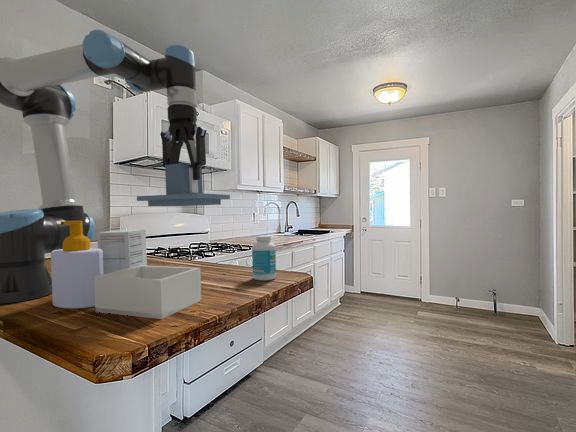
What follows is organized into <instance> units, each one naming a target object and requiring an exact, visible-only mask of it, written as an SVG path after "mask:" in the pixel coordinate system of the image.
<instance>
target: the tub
mask: <svg viewBox="0 0 576 432" xmlns="http://www.w3.org/2000/svg"><path fill="white" fill-rule="evenodd" d="M201 275H202V274H201V267H192V266H191V267H188V266H167V265H166V266H164V265H163V266H162V265H147V266H146V265H141V266H136V267H132V268H128V269H124V270H120V271H115V272H111V273H107V274H103V275H98V276H94V284H95V306H94V307H95V308H94V309H95V313H99V312H100V314H108V313H111V314H110V315H117V314H118V316H127V315H128V316H127V317H129V316H131V317H137V318H145V319H146V318H147V319H157V320H158V319H159V320H164V319H166V318H168V317H169V316H172V315H174V314H175V313H178V312H179V311H182V310H184V309H186V308H188V307H190V306H192V305H195V304H196V303H199V302H200V301H202V282H201V280H202V279H201Z"/></svg>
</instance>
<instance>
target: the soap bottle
mask: <svg viewBox="0 0 576 432" xmlns="http://www.w3.org/2000/svg"><path fill="white" fill-rule="evenodd" d="M61 225H70V236H68V237H67V238H65V239H64V241H63V249H59V250H54V251H52V252H51V253H50V269H51V279H52V293H51V294H52V306H54V307H56V308H61V309H72V310H73V309H74V310H75V309H86V308H93V307H95V284H94V276H98V275H103V274H104V272H103V251H102V249H98V247H97V248H96V247H93V248H92V247H91V240H89V238H88V237H85V236H84V235H83V225H82V221H62V222H61Z"/></svg>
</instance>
